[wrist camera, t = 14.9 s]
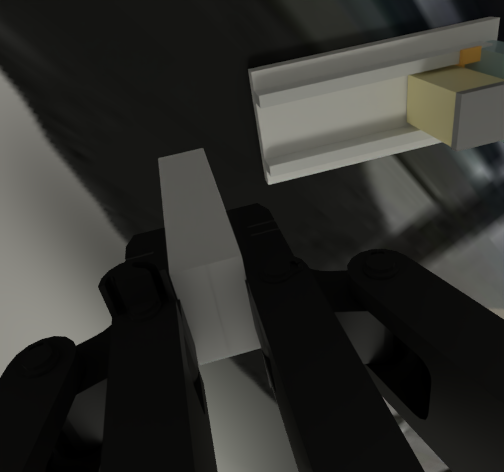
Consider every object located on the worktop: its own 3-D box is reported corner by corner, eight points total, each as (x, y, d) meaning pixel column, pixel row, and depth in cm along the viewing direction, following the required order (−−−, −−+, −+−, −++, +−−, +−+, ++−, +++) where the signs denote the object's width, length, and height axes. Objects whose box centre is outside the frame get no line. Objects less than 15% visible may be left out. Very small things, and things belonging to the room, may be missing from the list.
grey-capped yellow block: (407, 73, 45) (461, 94, 37) (453, 63, 45) (517, 81, 38) (405, 123, 48) (456, 151, 40) (449, 112, 48) (507, 138, 40)
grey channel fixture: (247, 69, 43) (275, 93, 34) (509, 12, 46) (597, 21, 37) (265, 179, 49) (292, 224, 40) (493, 123, 52) (565, 154, 43)
